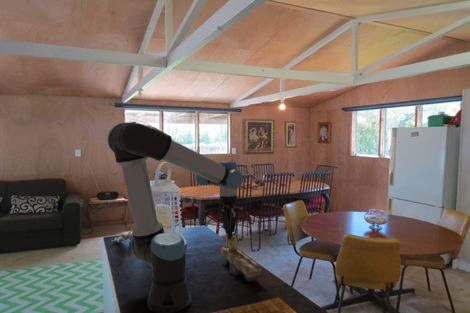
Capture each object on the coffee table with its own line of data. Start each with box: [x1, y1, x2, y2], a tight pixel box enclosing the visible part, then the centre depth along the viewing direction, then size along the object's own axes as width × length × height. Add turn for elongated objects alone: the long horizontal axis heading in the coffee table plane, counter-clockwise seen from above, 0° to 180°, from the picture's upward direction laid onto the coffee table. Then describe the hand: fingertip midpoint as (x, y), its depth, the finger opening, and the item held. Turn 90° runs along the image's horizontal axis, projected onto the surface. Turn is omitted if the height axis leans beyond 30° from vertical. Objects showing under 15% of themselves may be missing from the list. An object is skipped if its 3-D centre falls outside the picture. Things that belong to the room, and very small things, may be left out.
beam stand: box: [219, 246, 262, 282], centre depth 140 cm, size 28×7×7 cm, turn 25°
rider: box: [227, 236, 238, 254], centre depth 145 cm, size 4×4×7 cm
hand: (229, 245), depth 149 cm, fingers closed
